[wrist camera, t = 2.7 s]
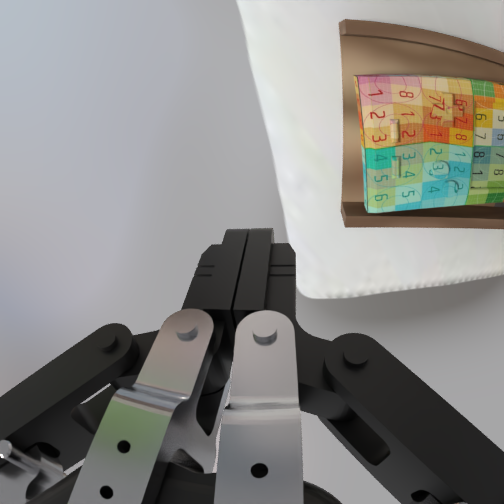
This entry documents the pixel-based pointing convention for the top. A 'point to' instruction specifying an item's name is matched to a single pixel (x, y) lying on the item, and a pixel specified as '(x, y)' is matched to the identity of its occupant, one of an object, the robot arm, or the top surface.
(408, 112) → the puzzle game
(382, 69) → the channel
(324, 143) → the top surface
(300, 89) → the top surface
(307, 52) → the top surface
